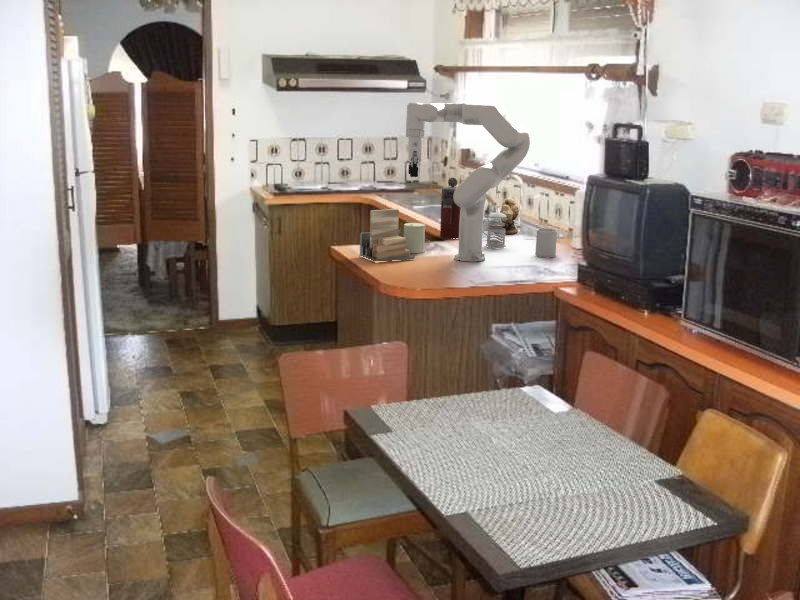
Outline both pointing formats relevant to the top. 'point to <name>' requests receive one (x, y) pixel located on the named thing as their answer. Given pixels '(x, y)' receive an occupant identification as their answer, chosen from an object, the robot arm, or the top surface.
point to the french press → (496, 231)
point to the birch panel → (383, 224)
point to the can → (414, 237)
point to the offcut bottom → (391, 254)
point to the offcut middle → (388, 248)
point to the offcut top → (392, 241)
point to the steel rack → (367, 251)
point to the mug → (546, 243)
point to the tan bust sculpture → (509, 216)
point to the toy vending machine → (449, 211)
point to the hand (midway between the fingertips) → (413, 175)
